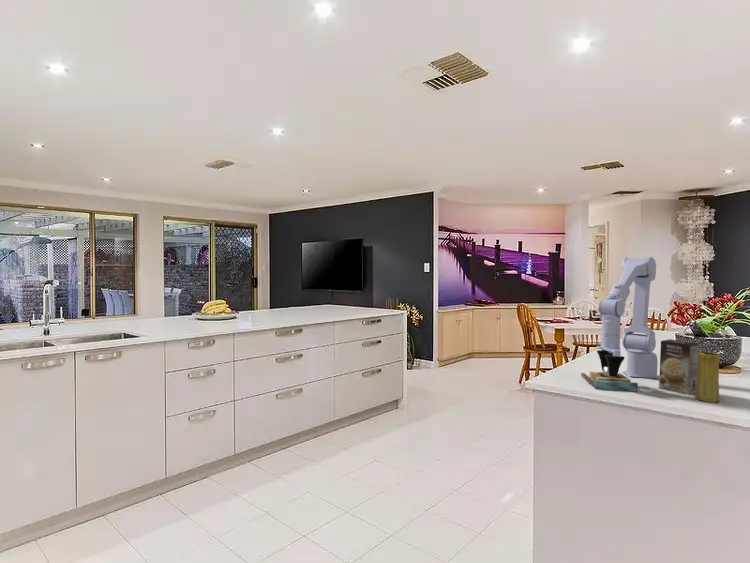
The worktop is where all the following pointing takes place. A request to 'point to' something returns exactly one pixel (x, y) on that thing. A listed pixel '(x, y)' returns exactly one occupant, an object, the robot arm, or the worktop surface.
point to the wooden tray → (600, 377)
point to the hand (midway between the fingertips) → (609, 373)
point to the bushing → (607, 373)
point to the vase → (707, 377)
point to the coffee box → (678, 366)
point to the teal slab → (611, 384)
